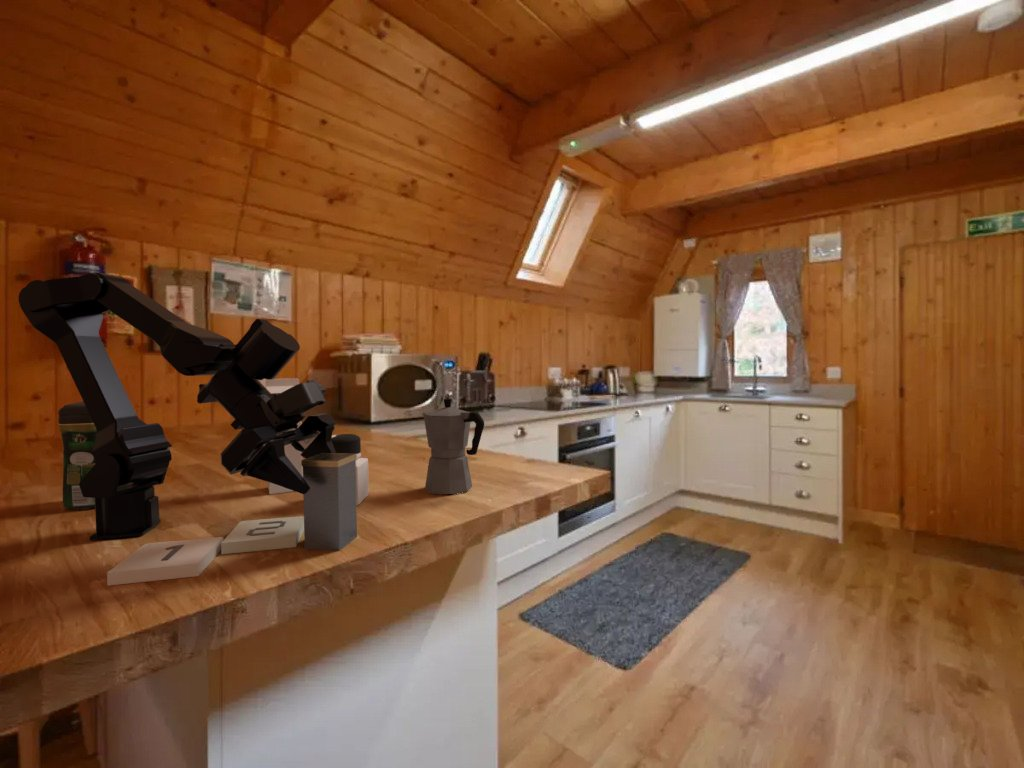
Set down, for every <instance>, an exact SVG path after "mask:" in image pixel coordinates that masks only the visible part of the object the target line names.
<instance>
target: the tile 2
mask: <svg viewBox="0 0 1024 768" xmlns="http://www.w3.org/2000/svg"><path fill="white" fill-rule="evenodd" d="M303 533H304V515H303V516H302V515H300V516H288V517H277V518H276V517H275V518H263V519H252V520H242V521H241V520H240V521H239V523H238V524H237V525H236V526H235V527H234V528H233V529H232V530H231V531H230V533H228V535H227V536H225V538H223V541H222V543H221V551H220V553H221V555H231V554H239V553H249V552H261V551H269V550H282V549H292V548H297V546H298V544H299V542H300V539H301V538H302V536H303Z"/></svg>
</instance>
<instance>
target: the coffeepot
mask: <svg viewBox="0 0 1024 768" xmlns="http://www.w3.org/2000/svg"><path fill="white" fill-rule="evenodd" d="M452 401H453V398H450V397H445V398H444V399H443V403H444V407H442V408H439V409H434V410H430V411H425V412H422V416H423V421H424V427H425V433H426V439H427V445H428V448H430V457H429V460H428V466H427V470H426V471H427V473H426V478H425V485H424V490H425V491H426V492H427V491H428V492H427V493H429V492H430V493H429V494H431V493H433V494H432V495H436V494H456V495H458V494H457V493H461V494H463V493H462V492H465V493H467V492H466V491H468V490H469V489H470V488H471V489H472V487H473V483H472V477H471V471H470V466H469V460H468V456H467V455H469V456H475V455H477V453H478V451H479V446H480V441H481V438H482V434H483V432H484V427H485V420H484V419H483V418H482V416H481V414H480V413H479V412H478V411H477V412H476V411H466V410H463V409H459V408H455V407H451V406H452ZM472 422H474V424H475V426H474V432H473V438H472V440H471V448H470V449H466V448H467V447H468V443H469V437H470V436H469V435H470V431H471V430H470V429H471V423H472ZM466 454H467V455H466ZM471 489H470V490H471ZM470 490H469V491H470ZM469 491H468V492H469Z"/></svg>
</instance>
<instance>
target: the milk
mask: <svg viewBox="0 0 1024 768" xmlns="http://www.w3.org/2000/svg"><path fill="white" fill-rule="evenodd" d="M298 384H300V379H299V378H297V377H292V378H291V377H287V378H285V377H283V378H274V379H271V380H269V379H265V388H266V389H267V390H268V391H269V392H270V393H271V394H272V393H282V392H284V391H286V390H288V389H290V388H291V387H293V386H295V385H298ZM302 421H303V420H302ZM302 421H301V422H298V423H297V425H298V427H299V426H300V425H301V424H302V423H303V422H302ZM298 427H297V428H298ZM284 449H285V455H286V457H287V458H288V459H289V460H290V462H291V463H292V464H293V465H294V467H295V468H296V469H297V470H298V472H299V473H300V474H301V475H302V477H303V466H302V465H301V460H304V459H303V457H302V456H301V455H300V454H301V453H302V452H301V451H298V450H296V449H295V448H294V447H293V446H292V445H291V444H289V445H285V446H284ZM267 488H268V492H269V495H276V494H282V493H283V494H285V493H290V492H291V493H292V492H294V491H293V490H290V489H287V488H284V487H282V486H279V485H276V484H273V483H270V482H267Z"/></svg>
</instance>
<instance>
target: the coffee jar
mask: <svg viewBox="0 0 1024 768" xmlns="http://www.w3.org/2000/svg"><path fill="white" fill-rule="evenodd" d="M57 413H58V424H57V425H58V429H59V431H60V435H61V440H62V451H63V452H62V456H63V457H62V459H63V460H62V461H63V462H62V464H63V465H62V468H63V469H62V473H63V474H62V505H63V507H64V508H66V509H72V510H78V511H79V509H81V510H89V509H91V508H95V498H87V497H83V495H82V492H81V489H80V486H79V483H80V481H81V480H82V479H83V478H84V477H85V476H86V474H87V473H88V472H89V471H90V470H91V469H92V468H93V466H94V465H95V460H94V457H93V453H92V450H93V446H94V442H95V439H96V435H97V430H96V427H95V425H94V423H93V421H92V419H91V416H90V414H89V412H88V410H87V408H86V406H85V404H84V402H83V401H79V402H73V403H69V404H65V405H63V406H62V407H61V408H59V409H58V412H57Z"/></svg>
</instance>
